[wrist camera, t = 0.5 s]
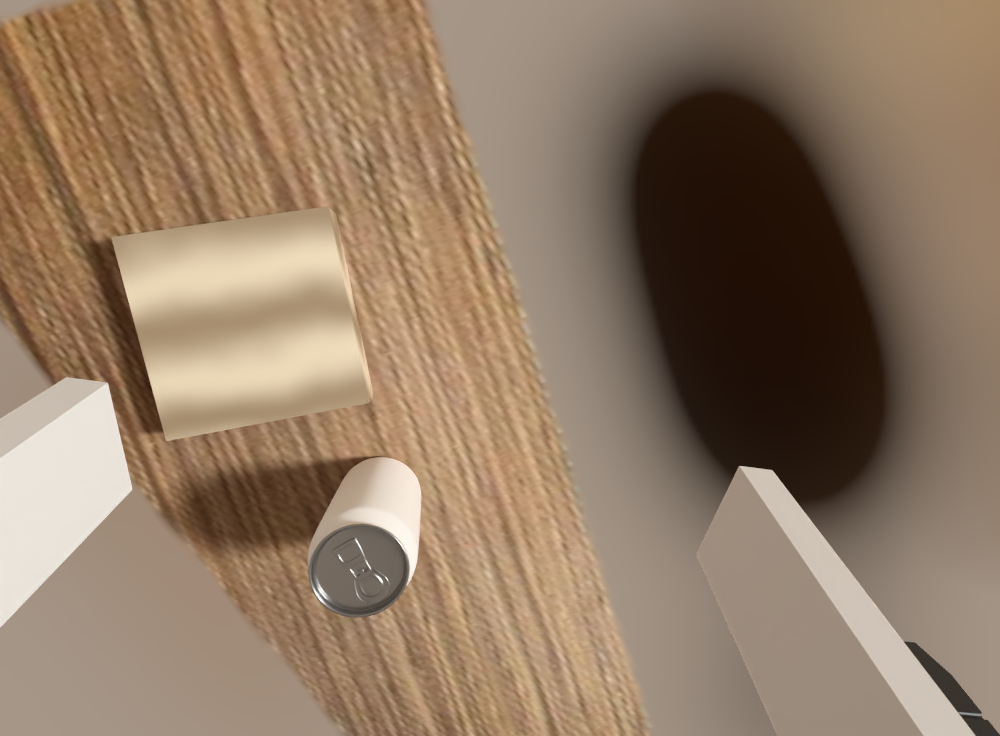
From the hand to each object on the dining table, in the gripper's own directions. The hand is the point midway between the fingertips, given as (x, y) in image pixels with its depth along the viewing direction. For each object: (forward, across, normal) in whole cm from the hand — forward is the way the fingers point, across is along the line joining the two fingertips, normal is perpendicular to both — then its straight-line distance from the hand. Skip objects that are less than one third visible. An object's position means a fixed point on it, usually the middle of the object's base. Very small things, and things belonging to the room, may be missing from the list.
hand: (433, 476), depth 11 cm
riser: (+26, +15, +10) cm, 32 cm away
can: (+22, +5, +22) cm, 32 cm away
